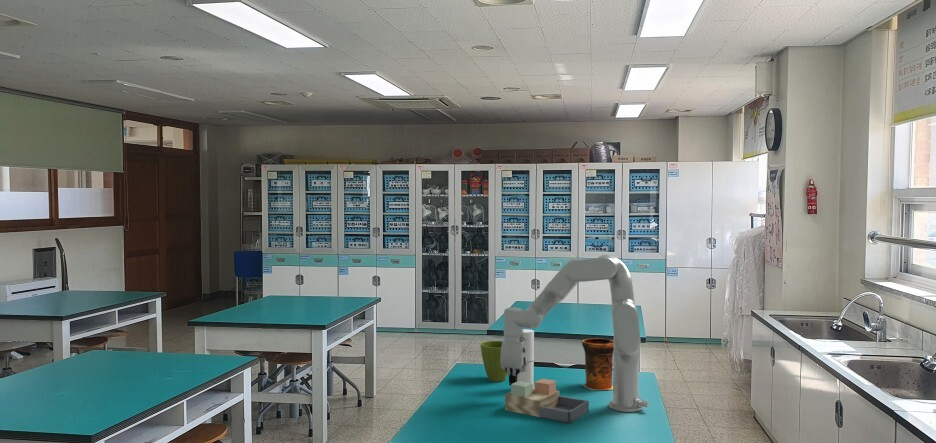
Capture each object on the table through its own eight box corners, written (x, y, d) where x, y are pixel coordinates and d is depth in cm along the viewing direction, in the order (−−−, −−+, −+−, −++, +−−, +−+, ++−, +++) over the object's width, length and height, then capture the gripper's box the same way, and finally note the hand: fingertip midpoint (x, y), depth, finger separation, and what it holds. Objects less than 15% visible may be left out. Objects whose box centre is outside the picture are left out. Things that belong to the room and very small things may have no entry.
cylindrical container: (527, 393, 277) (528, 333, 276) (513, 390, 282) (513, 331, 281) (536, 389, 283) (537, 330, 282) (522, 386, 287) (522, 328, 286)
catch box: (588, 411, 253) (588, 400, 253) (569, 423, 239) (569, 412, 239) (559, 405, 260) (559, 395, 260) (539, 417, 245) (539, 406, 245)
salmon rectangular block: (555, 391, 259) (555, 380, 259) (548, 394, 254) (549, 384, 254) (541, 388, 262) (542, 378, 262) (534, 392, 257) (535, 382, 257)
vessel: (590, 392, 278) (591, 344, 278) (576, 384, 292) (576, 338, 292) (621, 390, 282) (622, 342, 282) (606, 382, 296) (606, 337, 296)
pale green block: (532, 393, 255) (532, 383, 255) (525, 397, 250) (525, 386, 250) (518, 391, 259) (518, 380, 259) (511, 394, 254) (511, 384, 254)
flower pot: (475, 376, 303) (475, 341, 302) (506, 374, 307) (506, 339, 307) (486, 385, 289) (486, 348, 288) (518, 382, 293) (518, 346, 293)
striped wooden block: (559, 406, 259) (559, 390, 259) (540, 417, 246) (540, 401, 246) (525, 399, 267) (525, 385, 267) (505, 410, 254) (505, 394, 254)
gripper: (534, 339, 264) (534, 385, 265) (501, 335, 273) (501, 380, 273) (525, 342, 258) (525, 390, 259) (492, 338, 266) (492, 384, 267)
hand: (513, 384), depth 266 cm, fingers closed
